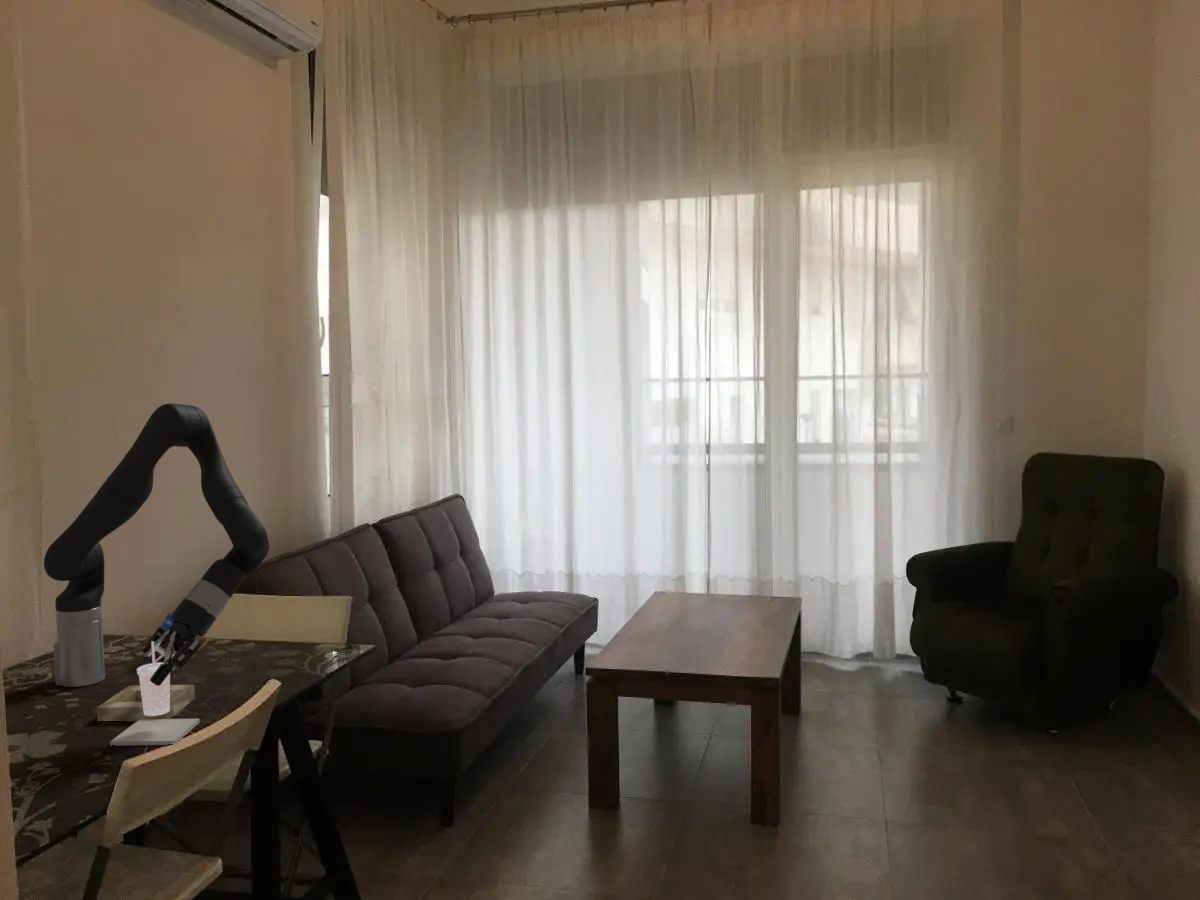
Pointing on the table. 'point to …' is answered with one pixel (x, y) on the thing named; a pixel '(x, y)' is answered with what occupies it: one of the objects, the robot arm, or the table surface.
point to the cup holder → (131, 706)
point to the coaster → (155, 732)
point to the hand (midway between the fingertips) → (145, 680)
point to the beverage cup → (153, 689)
